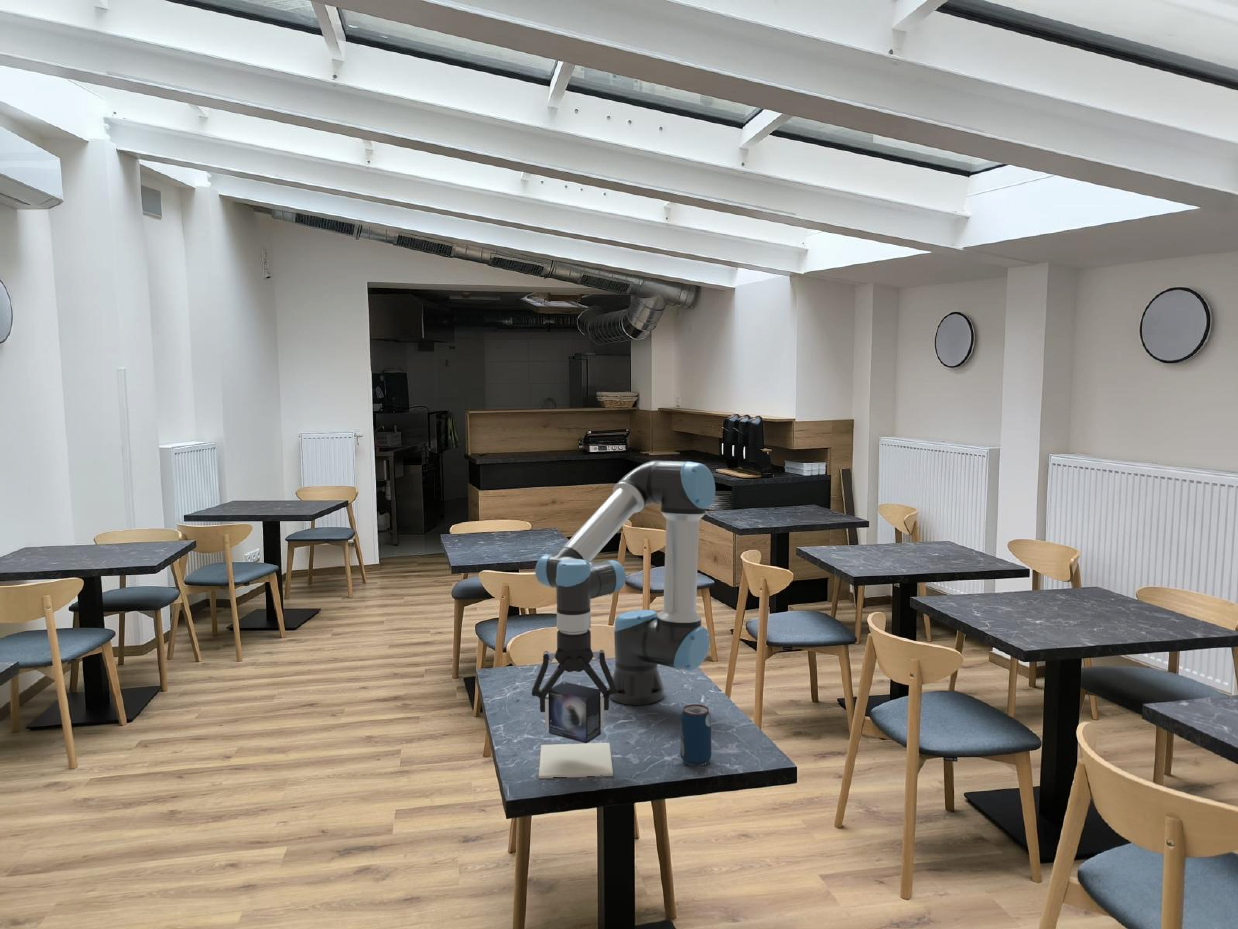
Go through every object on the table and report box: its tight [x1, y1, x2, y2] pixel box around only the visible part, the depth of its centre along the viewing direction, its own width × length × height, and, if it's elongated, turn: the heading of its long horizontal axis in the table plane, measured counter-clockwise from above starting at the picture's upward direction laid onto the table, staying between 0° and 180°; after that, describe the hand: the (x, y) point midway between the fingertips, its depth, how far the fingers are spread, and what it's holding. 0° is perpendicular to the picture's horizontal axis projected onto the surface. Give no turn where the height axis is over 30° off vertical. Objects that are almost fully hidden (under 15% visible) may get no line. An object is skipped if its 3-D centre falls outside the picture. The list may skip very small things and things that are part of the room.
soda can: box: [679, 704, 712, 766], centre depth 188 cm, size 7×7×12 cm
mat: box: [538, 742, 614, 779], centre depth 189 cm, size 16×16×1 cm
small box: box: [548, 681, 602, 744], centre depth 188 cm, size 11×6×10 cm, turn 58°
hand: (574, 724), depth 188 cm, fingers closed on small box, 12 cm apart
